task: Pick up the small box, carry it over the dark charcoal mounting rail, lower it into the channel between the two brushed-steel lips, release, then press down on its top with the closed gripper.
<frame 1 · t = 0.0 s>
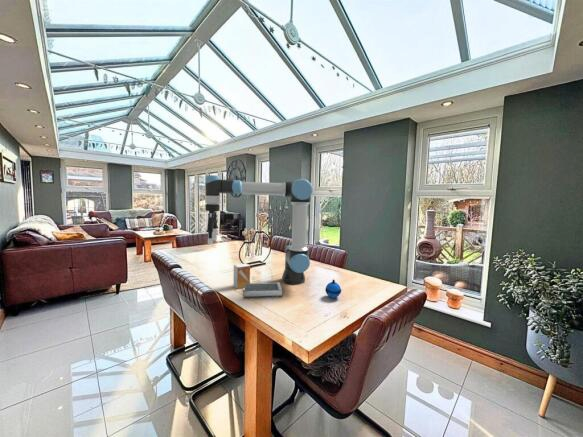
hand: (212, 241, 138), 28 cm above the table, fingers open, 13 cm apart
ornament: (332, 297, 136), on the table
din rail: (262, 293, 139), on the table
small box: (241, 286, 149), on the table
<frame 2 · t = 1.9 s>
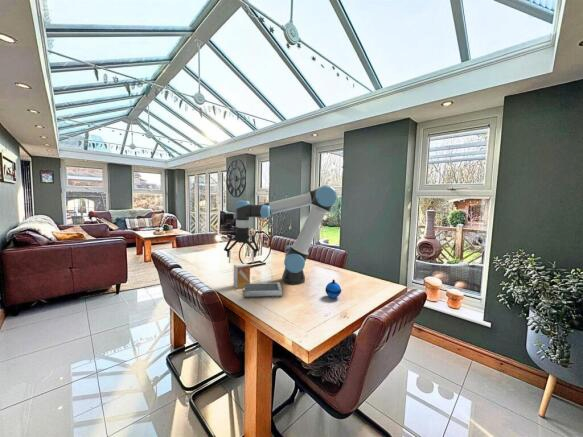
hand: (241, 262, 147), 15 cm above the table, fingers open, 13 cm apart
nothing on the table moved.
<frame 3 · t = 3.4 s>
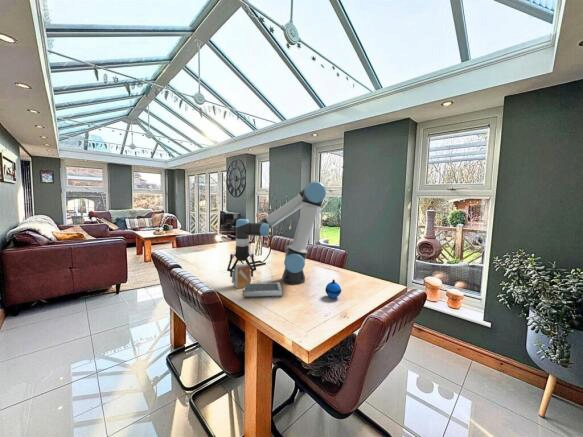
hand: (241, 282, 149), 3 cm above the table, fingers closed on small box, 10 cm apart
small box: (241, 286, 149), on the table, touching gripper
everything else where it was.
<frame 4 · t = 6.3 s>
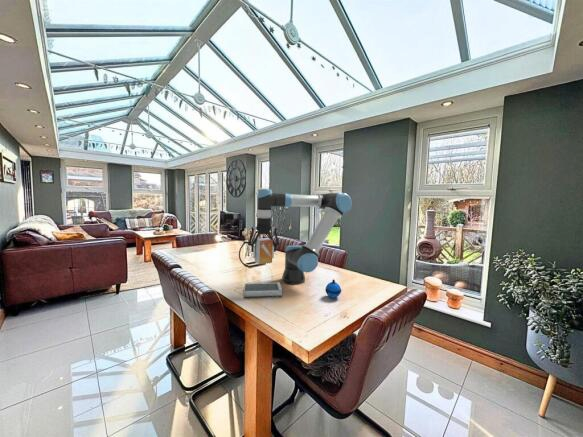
hand: (263, 257, 137), 20 cm above the table, fingers closed on small box, 10 cm apart
small box: (263, 262, 137), point 17 cm above the table, touching gripper
everything else where it was.
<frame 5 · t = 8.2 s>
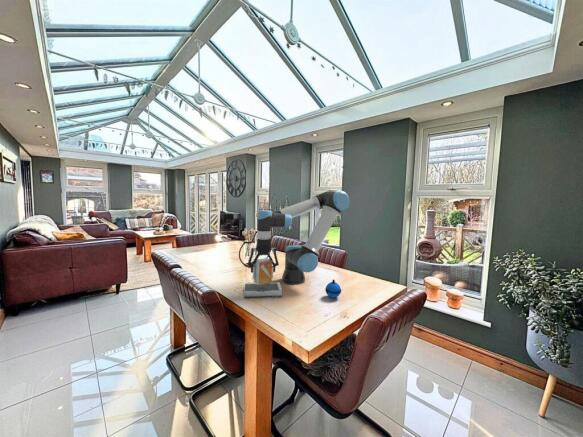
hand: (262, 277, 138), 9 cm above the table, fingers closed on small box, 10 cm apart
small box: (262, 283, 138), point 6 cm above the table, touching gripper
everything else where it was.
when the fingers open (5 cm above the table, at t = 9.5 s): small box drops 1 cm, resting on din rail.
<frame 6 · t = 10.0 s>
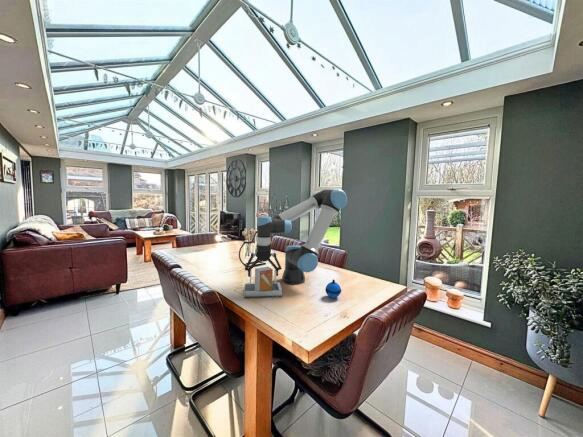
hand: (263, 282, 138), 7 cm above the table, fingers open, 13 cm apart
small box: (263, 291, 139), point 1 cm above the table, touching din rail
everything else where it was.
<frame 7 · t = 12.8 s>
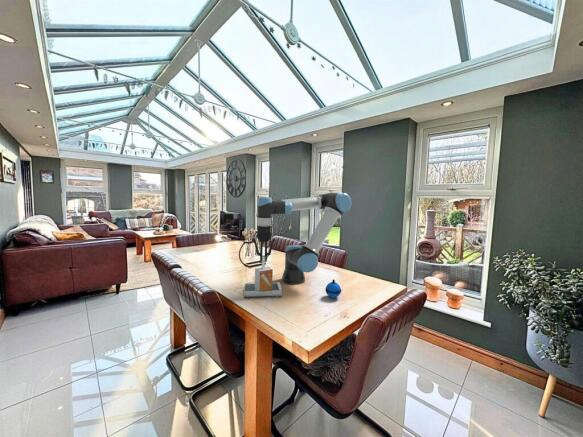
hand: (263, 267, 138), 15 cm above the table, fingers closed
nothing on the table moved.
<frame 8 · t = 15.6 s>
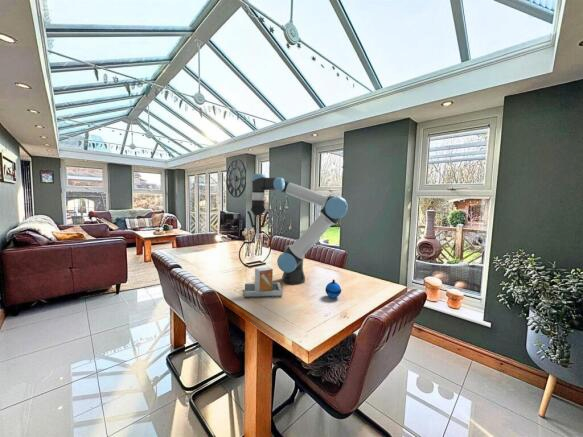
hand: (257, 238, 152), 28 cm above the table, fingers closed
nothing on the table moved.
at the end: small box inside the target area on the din rail (0.3 cm from its centre), point 1.0 cm above the din rail's base; small box tilted 0°; the gripper is holding nothing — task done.
